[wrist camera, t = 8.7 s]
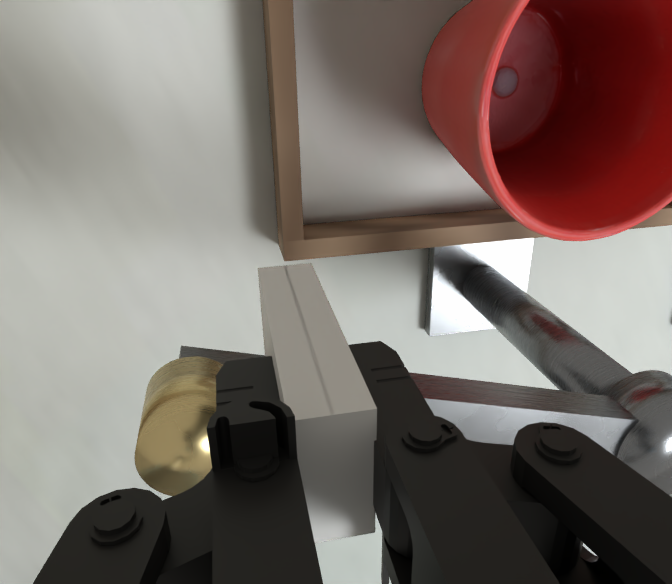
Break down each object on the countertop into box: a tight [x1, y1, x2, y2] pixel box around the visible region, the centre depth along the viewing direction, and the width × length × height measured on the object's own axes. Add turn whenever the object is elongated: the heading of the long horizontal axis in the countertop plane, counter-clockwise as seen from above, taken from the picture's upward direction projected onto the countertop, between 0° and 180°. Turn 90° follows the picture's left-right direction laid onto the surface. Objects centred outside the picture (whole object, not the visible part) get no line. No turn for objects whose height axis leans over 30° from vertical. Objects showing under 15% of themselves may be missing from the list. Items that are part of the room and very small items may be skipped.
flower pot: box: [422, 0, 672, 241], centre depth 23 cm, size 11×11×10 cm
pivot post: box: [425, 238, 632, 395], centre depth 26 cm, size 6×6×13 cm
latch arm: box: [135, 346, 672, 496], centre depth 16 cm, size 4×19×4 cm, turn 75°
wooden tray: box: [262, 0, 672, 261], centre depth 27 cm, size 23×16×2 cm
